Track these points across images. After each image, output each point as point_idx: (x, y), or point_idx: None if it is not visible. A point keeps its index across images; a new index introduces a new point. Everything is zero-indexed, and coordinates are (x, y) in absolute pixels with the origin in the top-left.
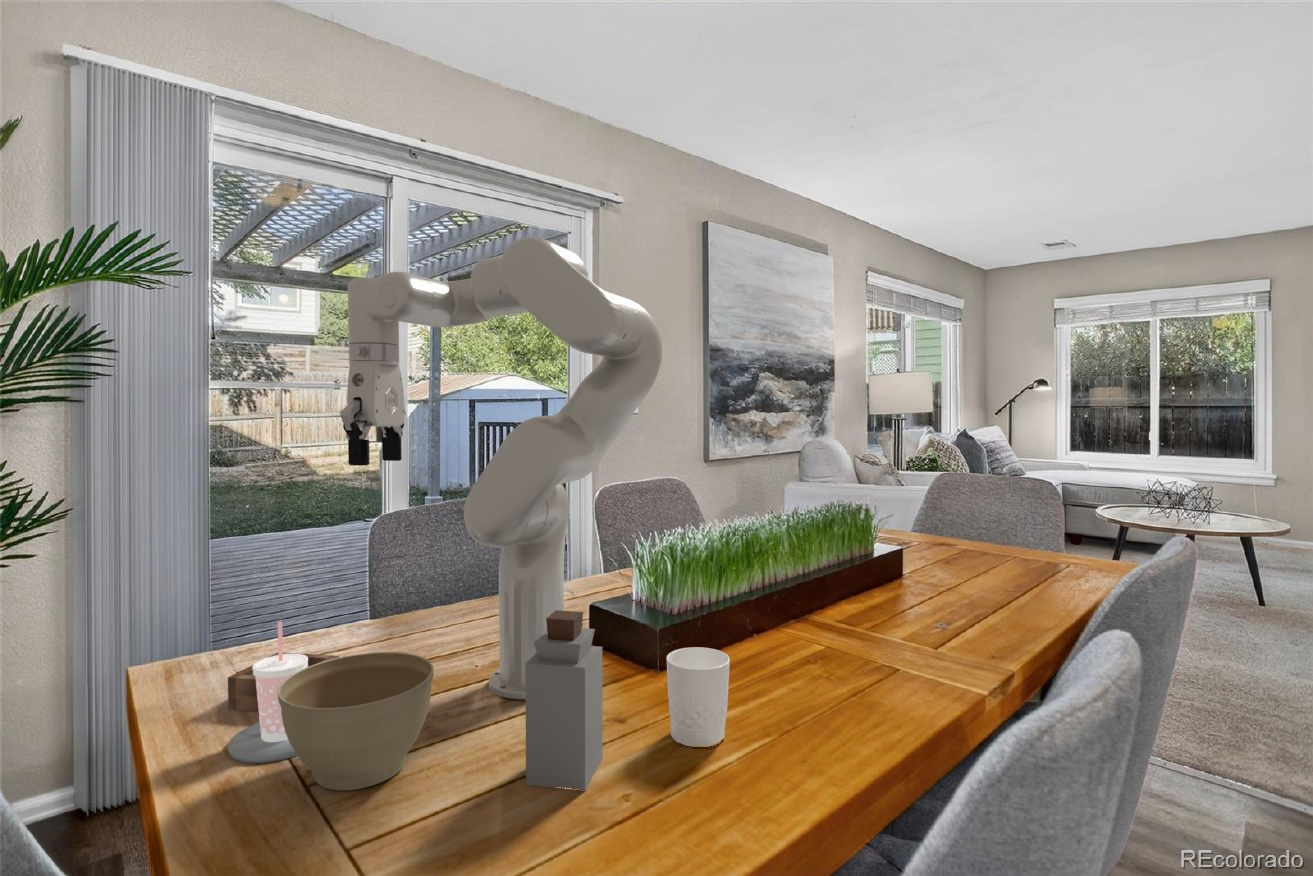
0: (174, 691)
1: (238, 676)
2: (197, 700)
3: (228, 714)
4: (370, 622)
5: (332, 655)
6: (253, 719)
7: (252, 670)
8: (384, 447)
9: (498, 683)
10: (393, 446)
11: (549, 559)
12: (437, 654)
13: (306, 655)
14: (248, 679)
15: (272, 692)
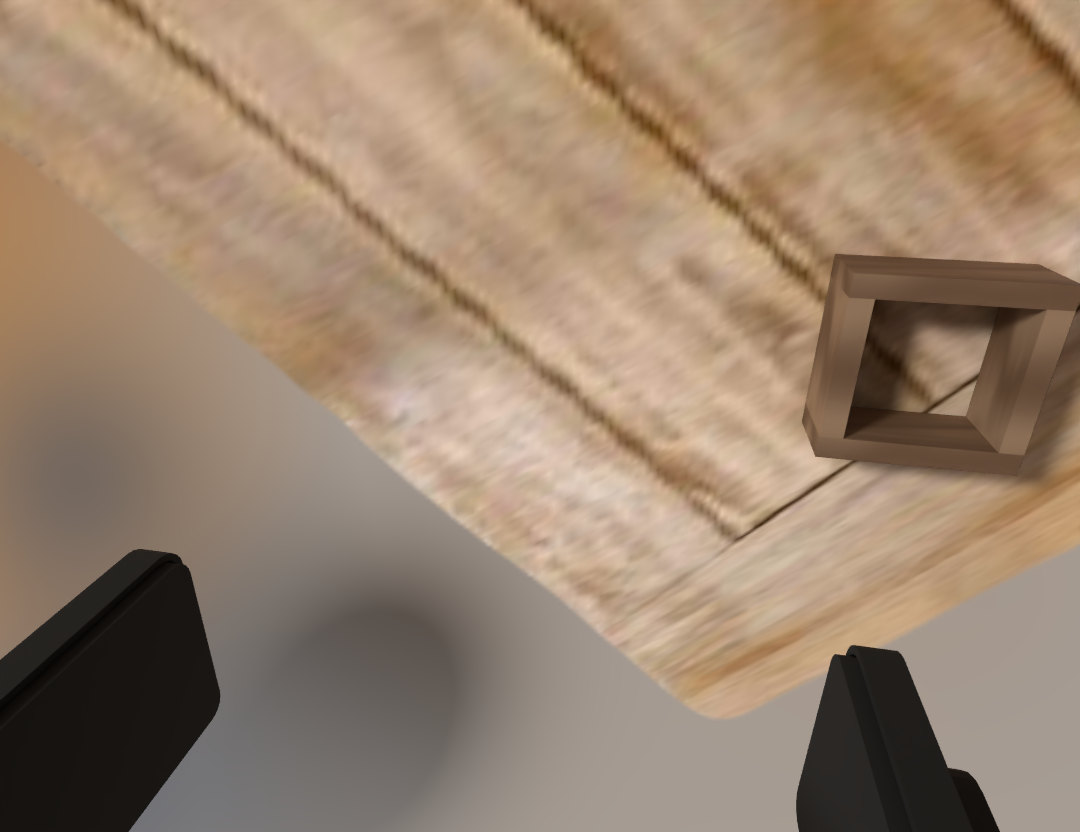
0: (853, 599)
1: (1012, 454)
2: (911, 530)
3: None
4: (347, 415)
5: (851, 294)
6: None
7: (956, 447)
8: (121, 809)
9: None
10: (80, 732)
11: None
12: (569, 79)
13: (847, 368)
14: (1034, 420)
15: None
